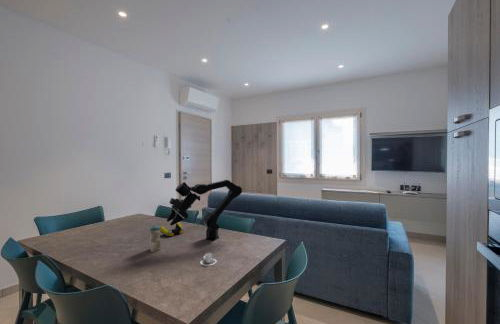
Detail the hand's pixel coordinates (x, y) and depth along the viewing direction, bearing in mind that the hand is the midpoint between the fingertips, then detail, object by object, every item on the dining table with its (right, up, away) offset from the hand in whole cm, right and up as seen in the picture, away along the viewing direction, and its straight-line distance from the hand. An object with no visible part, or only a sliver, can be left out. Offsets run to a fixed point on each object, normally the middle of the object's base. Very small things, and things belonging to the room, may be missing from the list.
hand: (168, 223), depth 130 cm
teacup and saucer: (+28, -14, -17) cm, 35 cm away
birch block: (-6, -14, -4) cm, 15 cm away
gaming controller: (-5, -14, +23) cm, 27 cm away
